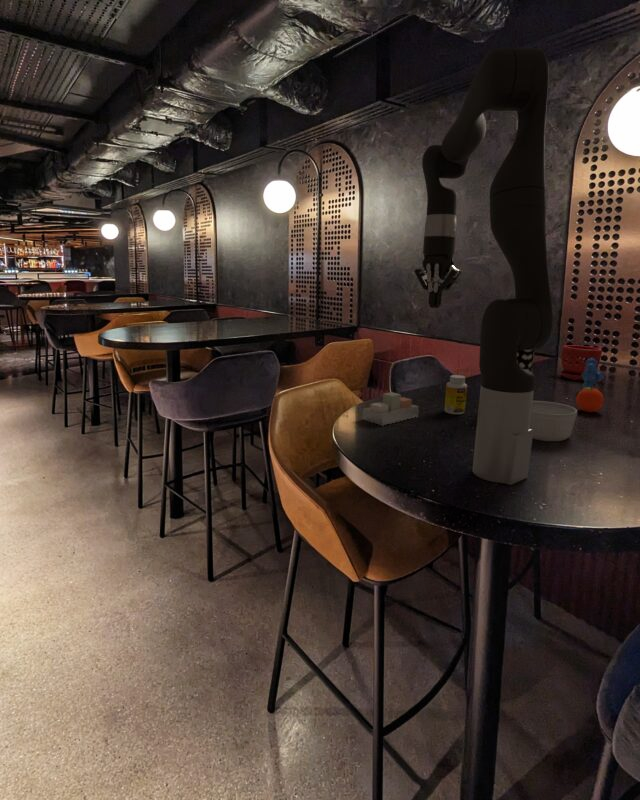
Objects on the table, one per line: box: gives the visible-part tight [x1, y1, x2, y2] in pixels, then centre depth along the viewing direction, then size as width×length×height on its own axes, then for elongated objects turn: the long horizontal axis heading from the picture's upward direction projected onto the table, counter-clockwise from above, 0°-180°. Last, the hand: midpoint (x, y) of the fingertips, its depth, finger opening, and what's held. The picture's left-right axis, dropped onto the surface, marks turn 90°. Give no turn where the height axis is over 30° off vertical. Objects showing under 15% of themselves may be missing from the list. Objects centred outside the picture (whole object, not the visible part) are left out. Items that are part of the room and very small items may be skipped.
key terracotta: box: [400, 396, 413, 407], centre depth 135 cm, size 3×3×4 cm
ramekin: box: [529, 400, 578, 442], centre depth 121 cm, size 13×13×7 cm
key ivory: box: [369, 401, 388, 413], centre depth 129 cm, size 3×3×4 cm
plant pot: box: [560, 344, 603, 381], centre depth 189 cm, size 13×13×12 cm
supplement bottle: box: [443, 374, 468, 415], centre depth 139 cm, size 6×6×10 cm
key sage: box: [382, 391, 402, 410], centre depth 132 cm, size 3×3×4 cm
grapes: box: [581, 357, 605, 390], centre depth 164 cm, size 12×7×12 cm, turn 151°
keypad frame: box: [361, 403, 420, 427], centre depth 133 cm, size 7×14×3 cm, turn 130°
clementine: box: [575, 387, 605, 413], centre depth 143 cm, size 8×7×7 cm
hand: (434, 307), depth 127 cm, fingers closed
